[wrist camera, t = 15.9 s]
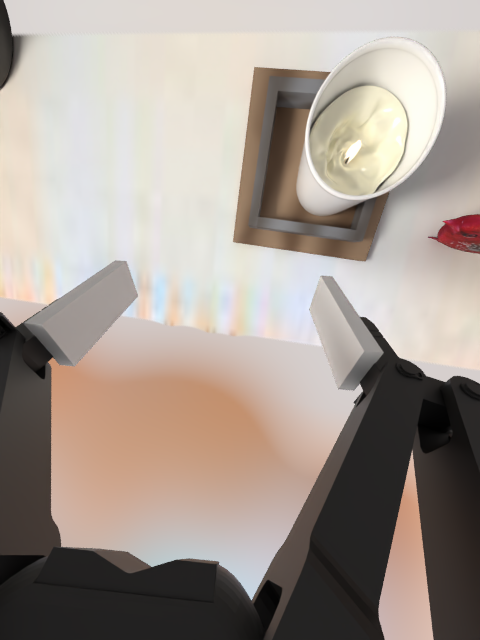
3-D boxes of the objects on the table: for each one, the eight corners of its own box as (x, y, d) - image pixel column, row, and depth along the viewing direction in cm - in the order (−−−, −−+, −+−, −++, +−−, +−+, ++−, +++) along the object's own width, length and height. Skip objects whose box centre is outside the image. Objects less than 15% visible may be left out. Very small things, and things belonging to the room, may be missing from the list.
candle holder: (383, 174, 25) (479, 107, 14) (324, 237, 28) (362, 225, 17) (330, 117, 24) (385, -7, 13) (275, 189, 27) (279, 141, 16)
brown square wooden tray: (234, 242, 31) (230, 240, 28) (254, 74, 24) (252, 46, 21) (362, 261, 29) (374, 261, 26) (421, 86, 23) (448, 57, 19)
